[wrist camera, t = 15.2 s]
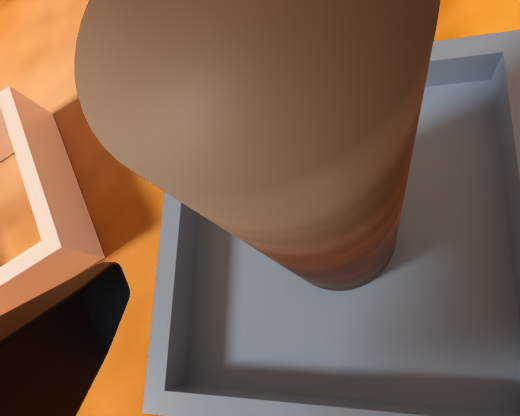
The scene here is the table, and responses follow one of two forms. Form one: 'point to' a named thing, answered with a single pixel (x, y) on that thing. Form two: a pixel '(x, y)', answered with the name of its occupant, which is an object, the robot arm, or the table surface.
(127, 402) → the table surface
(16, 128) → the holder
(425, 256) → the tray
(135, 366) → the table surface
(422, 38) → the pepper mill
